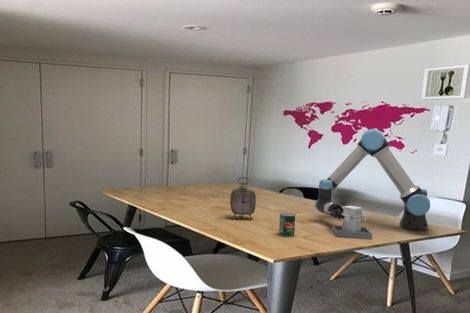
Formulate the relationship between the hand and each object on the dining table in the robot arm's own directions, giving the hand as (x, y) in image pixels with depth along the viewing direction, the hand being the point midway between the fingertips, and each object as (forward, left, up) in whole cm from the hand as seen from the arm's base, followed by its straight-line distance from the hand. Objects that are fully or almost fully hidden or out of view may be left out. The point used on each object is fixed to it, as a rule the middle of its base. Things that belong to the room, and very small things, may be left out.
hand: (357, 218), depth 211 cm
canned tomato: (+36, +6, -10) cm, 38 cm away
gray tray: (+2, -4, -10) cm, 11 cm away
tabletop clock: (+62, -26, -10) cm, 68 cm away
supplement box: (+2, -4, -8) cm, 9 cm away
